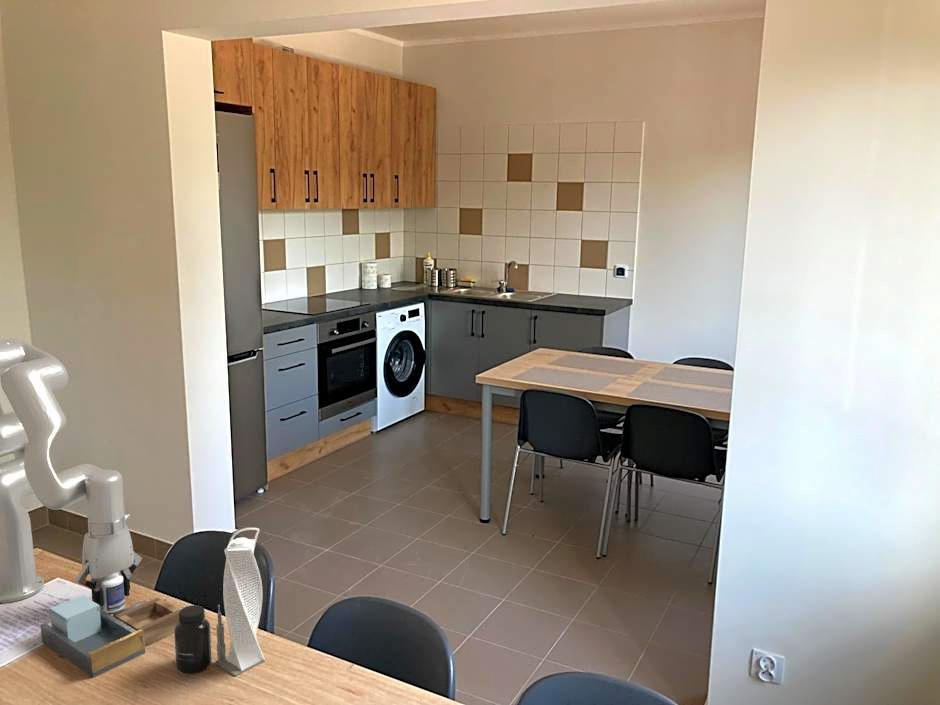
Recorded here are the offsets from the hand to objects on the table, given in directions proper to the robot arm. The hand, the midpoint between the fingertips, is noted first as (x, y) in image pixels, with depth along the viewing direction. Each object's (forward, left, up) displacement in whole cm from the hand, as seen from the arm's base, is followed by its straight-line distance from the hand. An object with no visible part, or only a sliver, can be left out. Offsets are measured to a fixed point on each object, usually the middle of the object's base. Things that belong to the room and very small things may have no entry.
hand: (111, 598), depth 176 cm
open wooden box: (+13, 0, -2) cm, 14 cm away
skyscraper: (+41, +5, -3) cm, 42 cm away
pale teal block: (+5, -11, -1) cm, 12 cm away
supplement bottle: (+34, -2, -3) cm, 35 cm away
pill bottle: (0, 0, -3) cm, 3 cm away
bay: (+12, -11, -2) cm, 16 cm away
